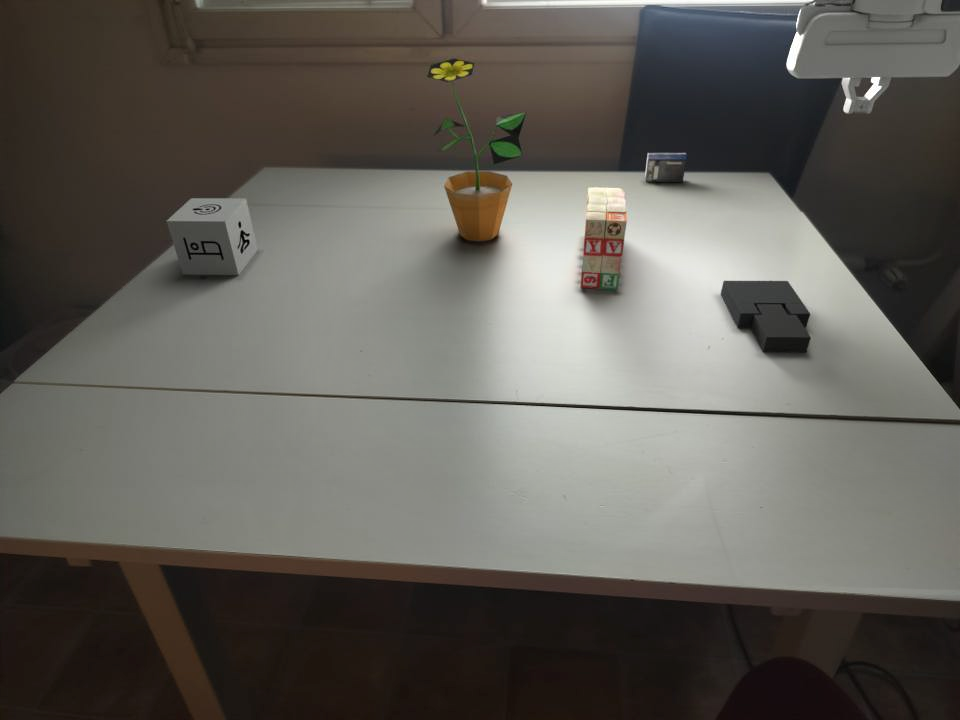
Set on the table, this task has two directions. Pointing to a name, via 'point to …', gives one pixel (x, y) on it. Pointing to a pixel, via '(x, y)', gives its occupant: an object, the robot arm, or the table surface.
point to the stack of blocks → (603, 238)
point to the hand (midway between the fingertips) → (856, 112)
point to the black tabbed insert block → (779, 330)
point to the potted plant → (477, 192)
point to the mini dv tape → (665, 167)
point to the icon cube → (213, 236)
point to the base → (761, 300)
